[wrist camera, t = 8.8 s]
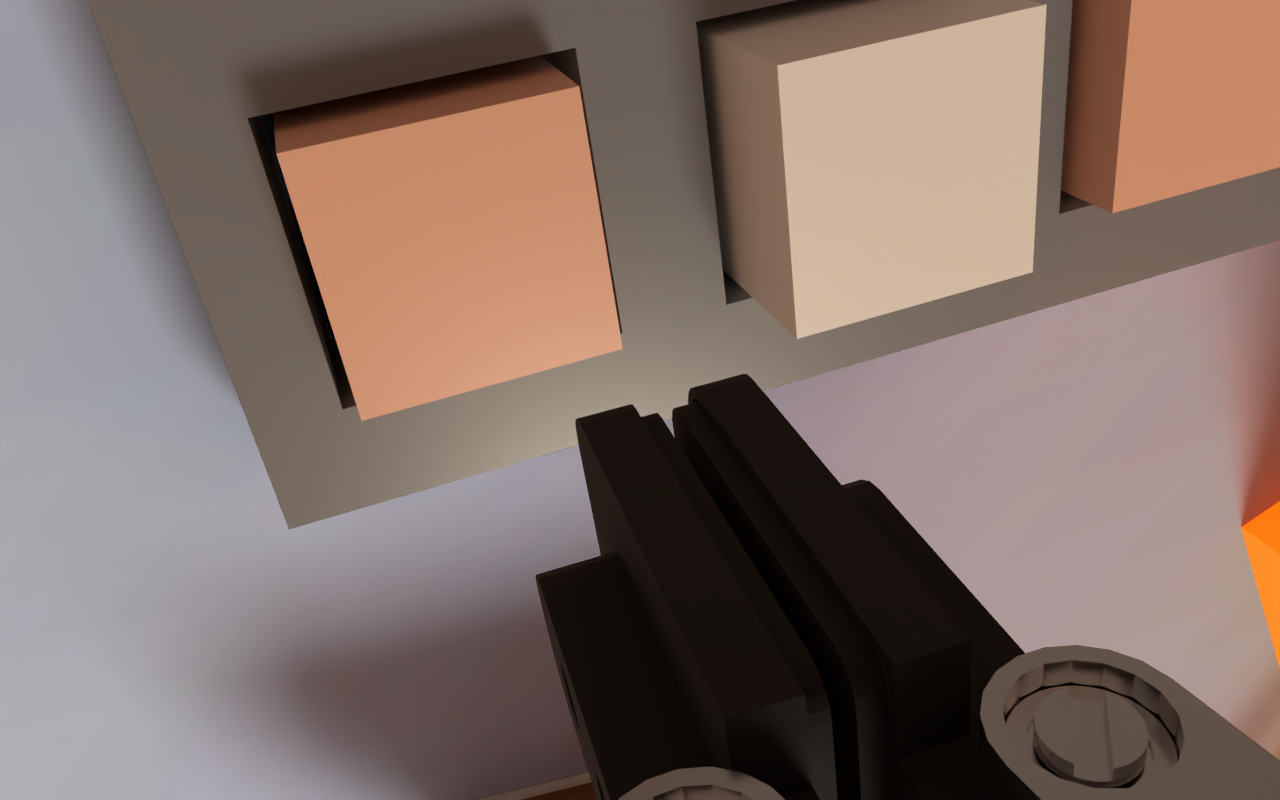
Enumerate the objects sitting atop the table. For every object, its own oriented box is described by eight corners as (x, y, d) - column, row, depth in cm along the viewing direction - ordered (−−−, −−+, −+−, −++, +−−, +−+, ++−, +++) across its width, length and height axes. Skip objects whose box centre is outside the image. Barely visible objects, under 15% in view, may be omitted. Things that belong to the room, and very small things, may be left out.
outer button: (520, 40, 19) (579, 86, 16) (563, 266, 21) (622, 349, 18) (271, 93, 18) (276, 153, 15) (342, 323, 20) (361, 420, 17)
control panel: (1268, -243, 21) (1406, -252, 19) (1209, 190, 26) (1312, 229, 23) (109, -31, 17) (84, -5, 14) (284, 446, 21) (289, 529, 19)
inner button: (1182, -100, 22) (1351, -86, 19) (1159, 113, 24) (1306, 159, 21) (993, -61, 21) (1135, -38, 18) (987, 156, 23) (1112, 213, 20)
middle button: (908, -28, 19) (1046, 4, 16) (911, 202, 22) (1032, 272, 18) (681, 21, 19) (777, 65, 15) (708, 255, 21) (797, 338, 17)
